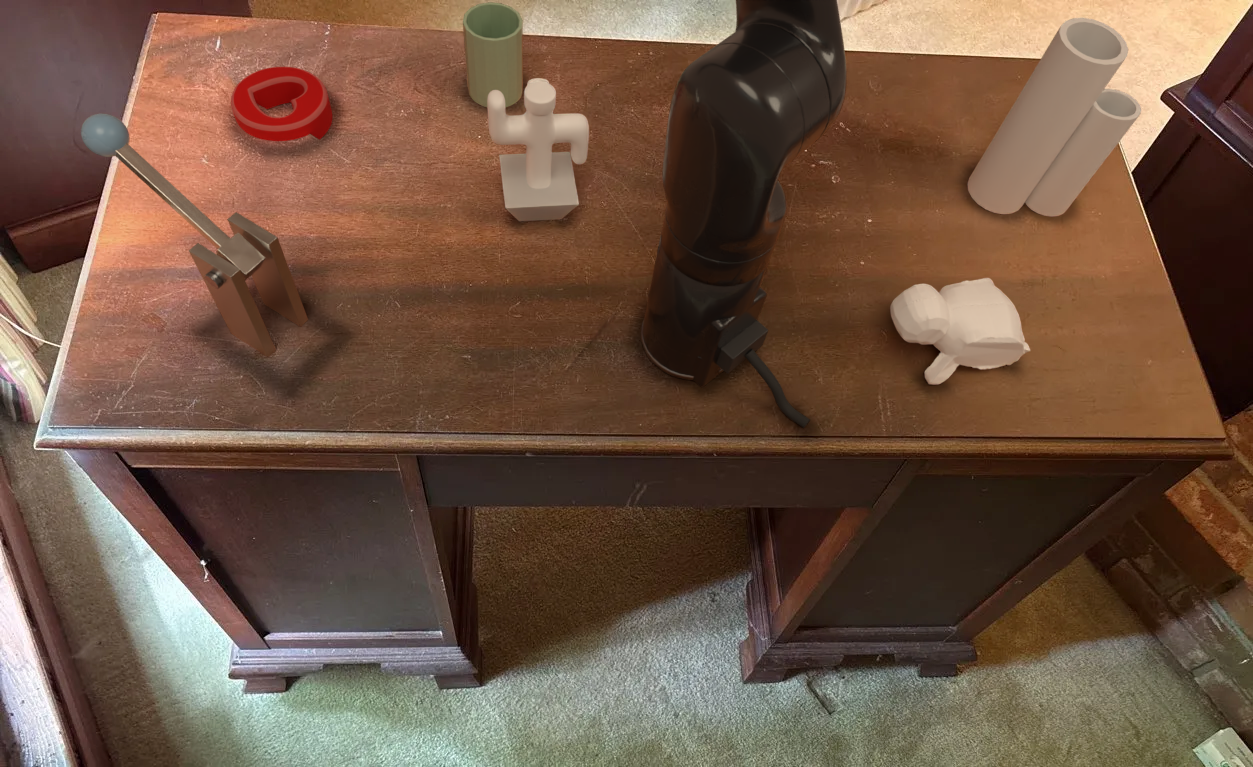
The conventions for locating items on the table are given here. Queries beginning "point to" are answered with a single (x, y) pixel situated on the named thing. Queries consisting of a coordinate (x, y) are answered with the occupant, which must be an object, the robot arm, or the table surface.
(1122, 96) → the vase
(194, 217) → the ball-ended lever
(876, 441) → the table surface
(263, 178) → the table surface
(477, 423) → the table surface
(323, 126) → the decorative ornament
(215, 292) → the brown upright slabs
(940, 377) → the white low-poly sculpture
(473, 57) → the cup
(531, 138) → the figurine
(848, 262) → the table surface
